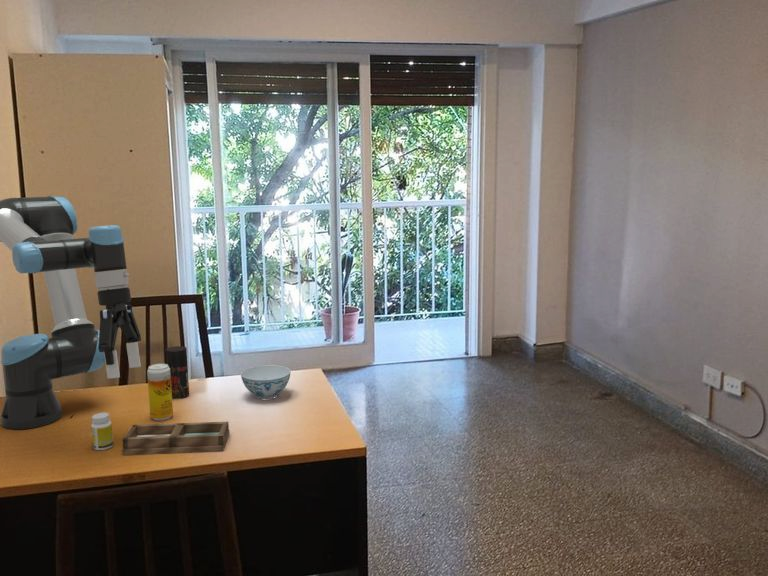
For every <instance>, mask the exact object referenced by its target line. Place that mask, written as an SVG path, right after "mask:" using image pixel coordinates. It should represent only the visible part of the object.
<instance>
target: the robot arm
mask: <svg viewBox="0 0 768 576" xmlns="http://www.w3.org/2000/svg"><path fill="white" fill-rule="evenodd" d="M78 227H79V226H78V217H77V214H76V211H75V208H74V207H73V205H72V203H71V202H70V201H69V199H67V198H65V197H64V196H52V195H47V196H33V197H32V196H30V197H9V198H4V199H1V200H0V242H1V243H3V244H4V245H5V247H7V248H8V250H10V252H12V253H11V255H12V256H11V257H12V262H13V266H14V267H15V270H16V272H18V273H19V274H38V273H43V278H44V282H45V285H46V291H47V295H48V299H49V303H50V308H51V313H52V317H53V321H54V325H55V326H54V327H53V329H52V330H51V331H50V336H51V337H49V336H48V335H47V334H45V333H35V334H33V333H32V334H27V335H22V336H19V337H15V338H13V339H11V340H8V341H7V342H6V343H5V344H4V345H2V347H1V350H0V351H1V362H0V363H1V365H2V373H3V374H2V375H3V382H4V390H5V391H4V392H5V399H4V403H3V407H2V410H1V414H0V419H1V420H0V421H1V426H2V427H3V428H6V429H11V430H26V429H33V428H39V427H42V426H47V425H49V424H52V423H54V422H56V421H58V420H60V419H61V418H62V416H63V410H62V408H63V407H62V405H61V403H60V401H59V400H58V397H57V395H56V394H55V391H54V388H53V380H55V379H60V378H65V377H70V376H75V375H79V374H88V373H90V372H94V371H97V370H100V369H101V368H102V367H103V365H104V364H105V369H106V378H107V379H117V378H120V377H121V375H120V368H119V361H118V360H119V359H118V353H117V350H116V349H115V346H116V341H117V336H118V330H119V328H120V330H121V333H122V334H123V335H124V337H125V339H126V341H127V342H126V345H125V346H126V352H127V357H128V366H129V367H128V368H129V369H133V368H141V367H142V366H141V365H142V364H141V359H140V357H141V355H140V351H139V342H141V341H142V337H141V333H140V329H139V327H138V324H137V321H136V317H135V316H134V312H133V307H132V304H126V303H130V302H131V301H132V294H131V288H129V287H127V286H128V285H129V277H130V273H129V272H128V269H127V268H128V267H127V259H126V253H125V246H124V245H125V244H124V237H123V233H122V228H121V226H119V225H115V224H113V225H111V224H109V225H98V226H92V227H90V228H89V229H88V232H89V233H88V236H89V237H79V238H74V235H75V234H76V233H77V231H78ZM84 268H86V269H87V268H93V270H94V280H95V281H94V282H95V286H96V289H99V290H98V291H97V300H98V305H99V306H105V309H102V310H99V319H100V320H99V329H96V328H95V324H94V323H93V322H92V321H90V320H89V319H88V317H87V313H86V310H85V305H84V300H83V297H82V296H83V295H82V292H81V288H80V284H79V280H78V275H77V271H76V269H84Z"/></svg>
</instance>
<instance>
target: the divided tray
mask: <svg viewBox="0 0 768 576" xmlns="http://www.w3.org/2000/svg"><path fill="white" fill-rule="evenodd" d="M229 428H230V427H229V421H209V422H205V421H204V422H182V423H181V422H180V423H179V422H177V423H176V422H175V423H152V424H151V423H150V424H149V423H146V424H133V425H132V426H130V428H129V430H127V432H126V434H125V435H124V437H123V438H122V450H121V451H122V452H121V453H122V456H129V455H130V454H131V456H132V454H135V455H155V454H156V455H157V454H158V453H161V454H181V453H182V454H183V453H184V454H185V453H204V452H205V453H206V452H207V453H210V452H224V450H225V447H226V444H227V441H228V438H229V436H230V429H229Z"/></svg>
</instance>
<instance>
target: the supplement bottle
mask: <svg viewBox="0 0 768 576" xmlns="http://www.w3.org/2000/svg"><path fill="white" fill-rule="evenodd" d="M110 417H111V416H110V413H108V412H98V413H95V414H93V415H91V422H92V423H91V426H90V428H91V439H92V447H93V449H94V450H95V451H106V450H108V449H111V448H112V447H113V446H114V435H113V426H112V421H111V420H110Z"/></svg>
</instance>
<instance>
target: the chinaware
mask: <svg viewBox="0 0 768 576" xmlns="http://www.w3.org/2000/svg"><path fill="white" fill-rule="evenodd" d="M240 377H241V380H242V384H243V385H244V387H245V388H246V389H247V391H248V392H250V393H251V394H253V395H254V396H255V399H257V398H259V399H258V400H260V399H270V400H272V399H271V398H274V397H276V396H277V395H278V396H279V394H280V393H281V392H282V391H283V390H284V389H285V388H286V386H288V385H287V384H288V383H289V382H290V378H291V369H290V368H289V367H287V366H282V365H277V364H265V365H263V364H262V365H256V366H252V367H248V368H246V369H244V370H242V371H241V373H240ZM278 396H277V397H278ZM277 397H276V398H277ZM274 399H275V398H274Z"/></svg>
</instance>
